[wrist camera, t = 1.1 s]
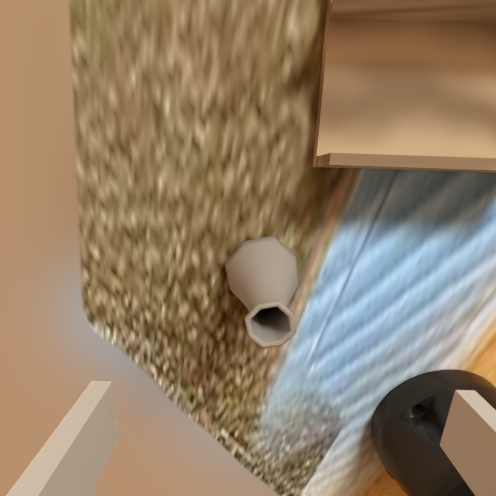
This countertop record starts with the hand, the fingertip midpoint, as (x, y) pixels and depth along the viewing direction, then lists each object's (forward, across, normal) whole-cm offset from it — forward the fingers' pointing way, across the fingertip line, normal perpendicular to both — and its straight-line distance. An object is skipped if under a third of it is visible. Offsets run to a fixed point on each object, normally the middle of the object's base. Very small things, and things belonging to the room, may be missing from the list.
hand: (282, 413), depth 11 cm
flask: (+17, 0, 0) cm, 17 cm away
